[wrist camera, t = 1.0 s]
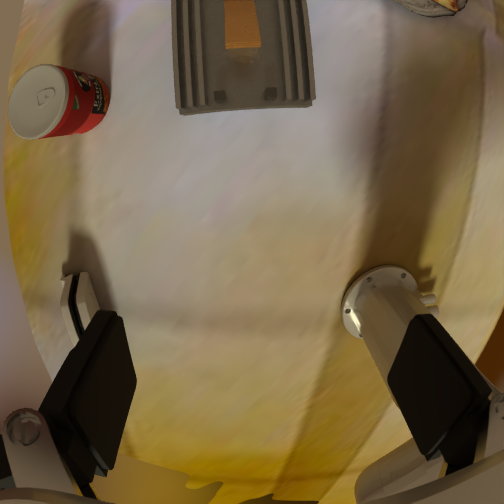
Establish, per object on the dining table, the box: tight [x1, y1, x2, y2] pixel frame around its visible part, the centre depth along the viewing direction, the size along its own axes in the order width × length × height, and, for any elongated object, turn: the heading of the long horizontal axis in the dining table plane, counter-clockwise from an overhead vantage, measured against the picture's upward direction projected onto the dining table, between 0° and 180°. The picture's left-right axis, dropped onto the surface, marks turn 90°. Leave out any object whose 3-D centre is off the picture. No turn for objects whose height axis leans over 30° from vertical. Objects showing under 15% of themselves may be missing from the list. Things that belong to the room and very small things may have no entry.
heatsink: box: [171, 0, 316, 116], centre depth 26 cm, size 14×17×6 cm
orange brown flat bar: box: [224, 0, 261, 49], centre depth 21 cm, size 3×12×1 cm
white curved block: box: [60, 272, 100, 347], centre depth 39 cm, size 17×5×10 cm, turn 5°
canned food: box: [8, 64, 109, 139], centre depth 25 cm, size 8×8×11 cm
